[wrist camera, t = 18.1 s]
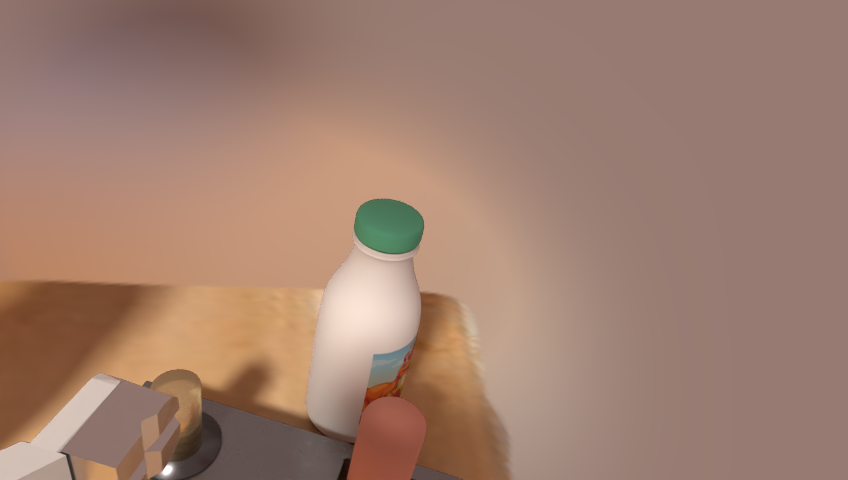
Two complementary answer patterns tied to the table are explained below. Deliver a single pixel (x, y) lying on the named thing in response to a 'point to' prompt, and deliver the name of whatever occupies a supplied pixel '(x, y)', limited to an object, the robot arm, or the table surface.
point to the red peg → (388, 440)
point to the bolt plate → (249, 443)
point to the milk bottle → (366, 320)
